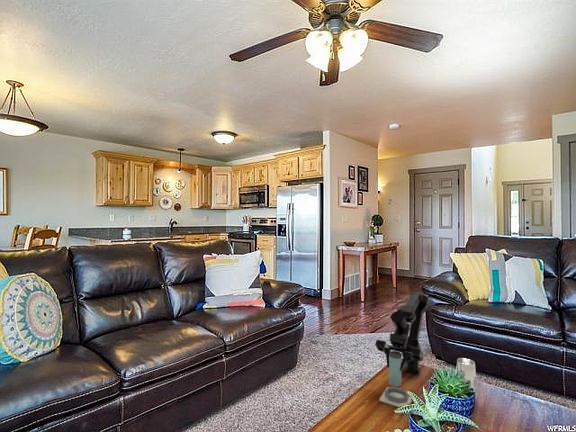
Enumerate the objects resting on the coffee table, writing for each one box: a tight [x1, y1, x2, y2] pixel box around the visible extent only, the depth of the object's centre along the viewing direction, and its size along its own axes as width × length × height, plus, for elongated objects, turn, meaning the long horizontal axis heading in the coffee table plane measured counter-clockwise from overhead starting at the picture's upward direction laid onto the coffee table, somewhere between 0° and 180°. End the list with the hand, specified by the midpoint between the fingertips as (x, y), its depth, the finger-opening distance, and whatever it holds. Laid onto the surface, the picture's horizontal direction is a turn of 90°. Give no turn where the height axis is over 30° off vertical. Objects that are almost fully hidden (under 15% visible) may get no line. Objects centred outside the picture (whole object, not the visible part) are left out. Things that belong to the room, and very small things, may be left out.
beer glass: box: [456, 357, 477, 389], centre depth 136 cm, size 7×7×15 cm
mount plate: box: [379, 386, 413, 408], centre depth 135 cm, size 11×11×2 cm
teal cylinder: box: [388, 350, 403, 387], centre depth 137 cm, size 5×5×12 cm
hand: (394, 368), depth 136 cm, fingers closed on teal cylinder, 5 cm apart
